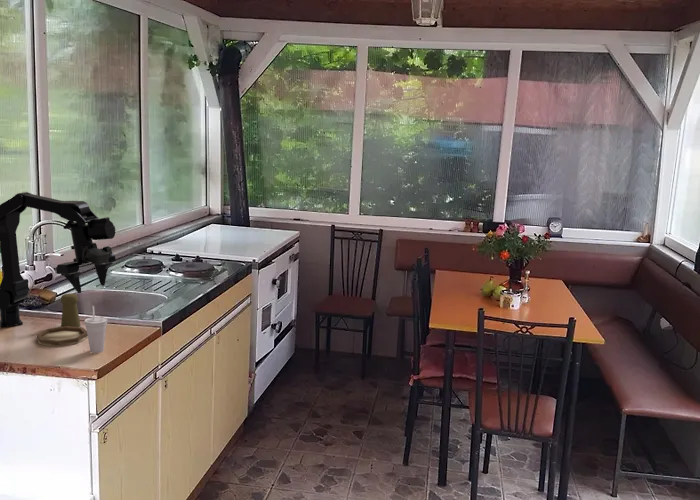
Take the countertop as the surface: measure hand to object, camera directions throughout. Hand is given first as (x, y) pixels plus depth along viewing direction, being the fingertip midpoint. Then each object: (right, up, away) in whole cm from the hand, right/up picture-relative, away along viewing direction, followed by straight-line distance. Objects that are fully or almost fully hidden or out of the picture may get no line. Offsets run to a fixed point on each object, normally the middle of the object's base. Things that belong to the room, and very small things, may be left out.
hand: (91, 289), depth 205 cm
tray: (-7, -15, -4) cm, 17 cm away
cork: (-10, -13, +8) cm, 18 cm away
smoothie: (+7, -18, -13) cm, 23 cm away
